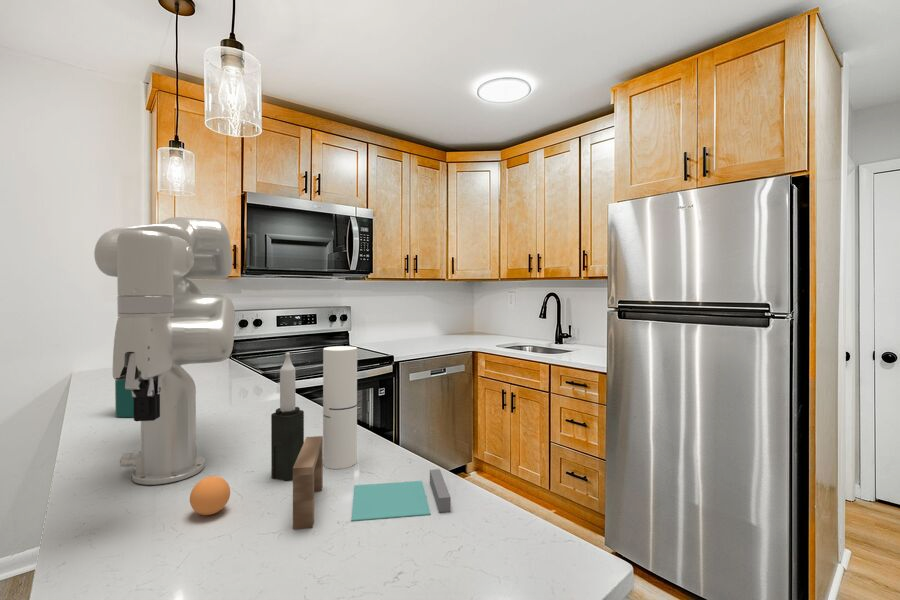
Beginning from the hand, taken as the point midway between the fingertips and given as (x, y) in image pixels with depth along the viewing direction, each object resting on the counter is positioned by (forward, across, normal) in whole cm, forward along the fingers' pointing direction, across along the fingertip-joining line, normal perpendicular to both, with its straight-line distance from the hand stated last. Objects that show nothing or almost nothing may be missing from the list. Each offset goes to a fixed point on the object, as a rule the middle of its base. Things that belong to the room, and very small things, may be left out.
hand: (147, 419), depth 73 cm
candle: (+16, -14, +19) cm, 29 cm away
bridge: (+16, 0, +25) cm, 30 cm away
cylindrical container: (+16, -19, +29) cm, 39 cm away
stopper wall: (+16, 0, +48) cm, 51 cm away
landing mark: (+16, 0, +39) cm, 43 cm away
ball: (+13, 0, +9) cm, 16 cm away
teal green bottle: (+16, -67, -33) cm, 76 cm away
